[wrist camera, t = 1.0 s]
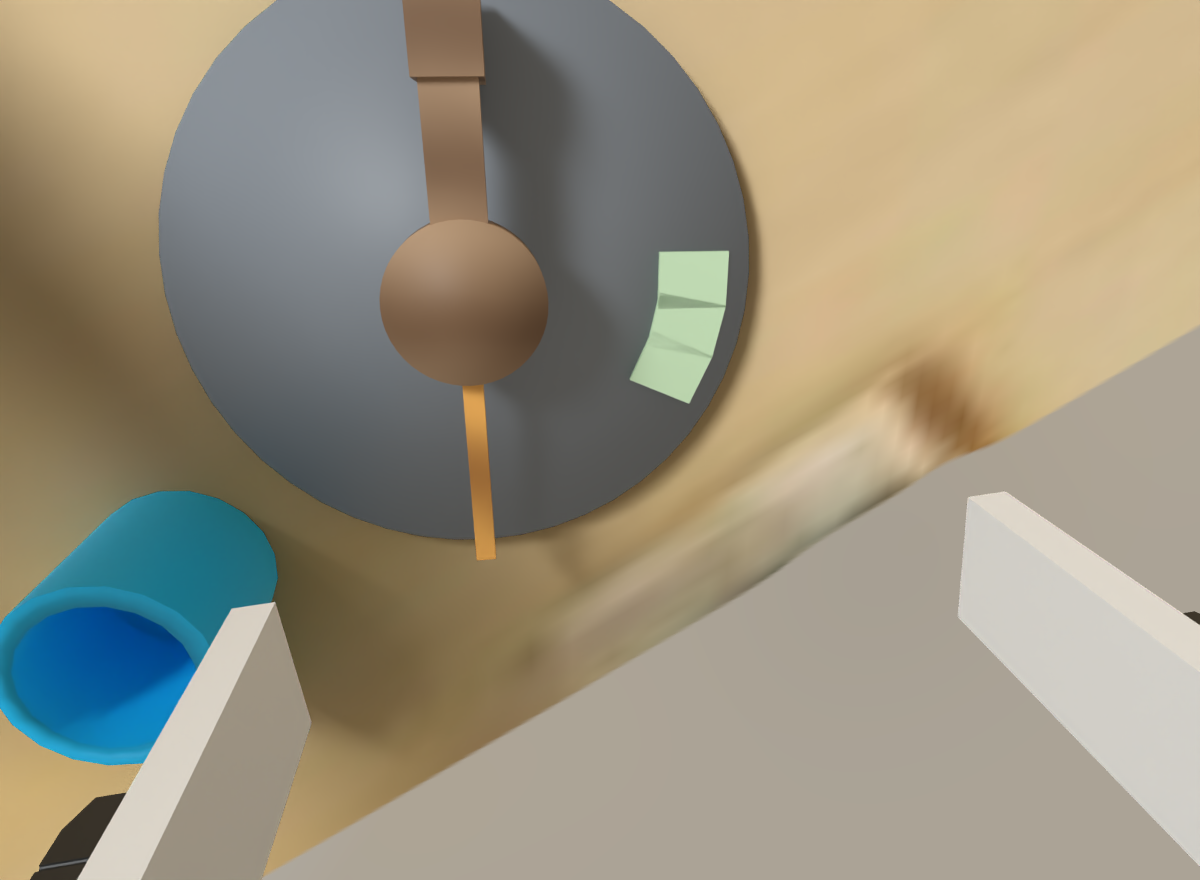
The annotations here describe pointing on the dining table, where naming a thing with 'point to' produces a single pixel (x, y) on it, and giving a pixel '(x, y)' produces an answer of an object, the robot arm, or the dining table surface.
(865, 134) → the dining table surface
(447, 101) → the dial arm
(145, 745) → the mug
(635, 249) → the dial plate
